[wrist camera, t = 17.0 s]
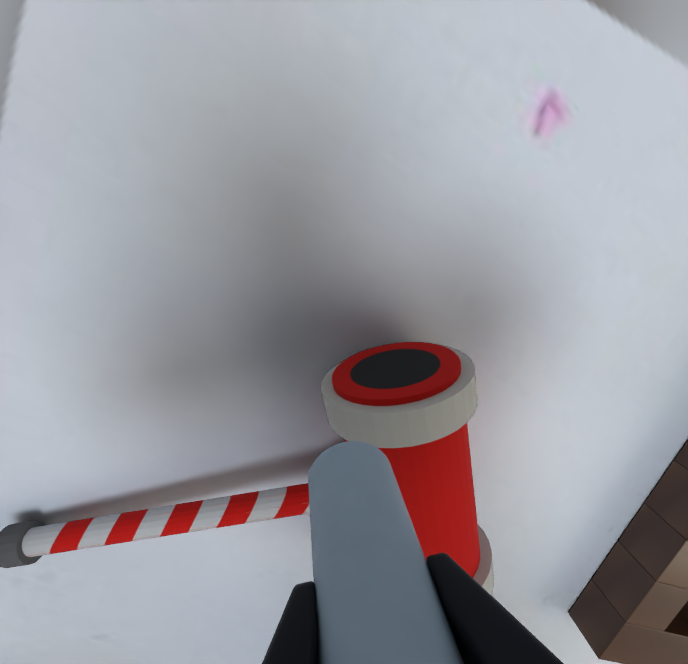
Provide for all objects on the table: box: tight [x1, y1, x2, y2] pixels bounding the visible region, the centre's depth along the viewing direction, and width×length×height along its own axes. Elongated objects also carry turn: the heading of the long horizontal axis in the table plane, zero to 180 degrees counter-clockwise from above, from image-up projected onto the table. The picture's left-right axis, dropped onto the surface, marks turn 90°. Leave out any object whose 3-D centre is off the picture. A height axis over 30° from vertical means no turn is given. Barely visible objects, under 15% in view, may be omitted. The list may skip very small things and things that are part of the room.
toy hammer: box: [0, 342, 494, 596], centre depth 19 cm, size 23×12×6 cm, turn 101°
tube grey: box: [308, 441, 464, 664], centre depth 7 cm, size 3×3×10 cm
